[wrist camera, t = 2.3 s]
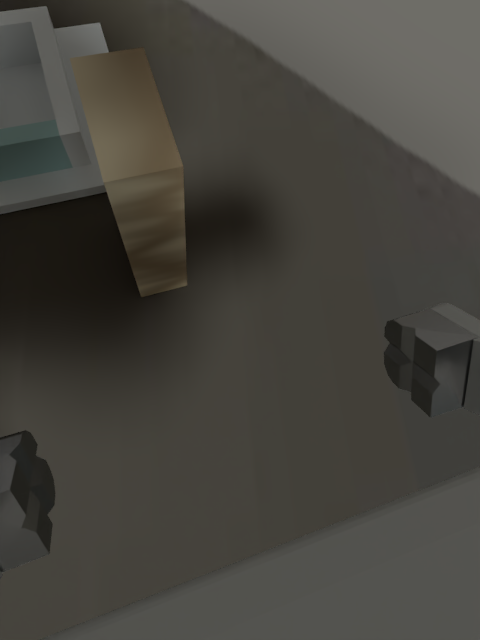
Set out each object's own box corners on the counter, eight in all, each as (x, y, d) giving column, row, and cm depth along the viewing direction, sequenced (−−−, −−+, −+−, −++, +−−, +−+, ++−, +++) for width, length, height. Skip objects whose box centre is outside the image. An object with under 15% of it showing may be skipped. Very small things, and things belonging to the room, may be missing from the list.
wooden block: (141, 297, 27) (103, 182, 16) (118, 216, 29) (69, 58, 17) (187, 285, 28) (183, 166, 16) (162, 206, 29) (143, 47, 18)
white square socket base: (-72, 229, 27) (-113, 194, 23) (-96, 60, 30) (-135, 7, 27) (147, 183, 30) (141, 145, 26) (101, 32, 33) (90, -20, 30)
